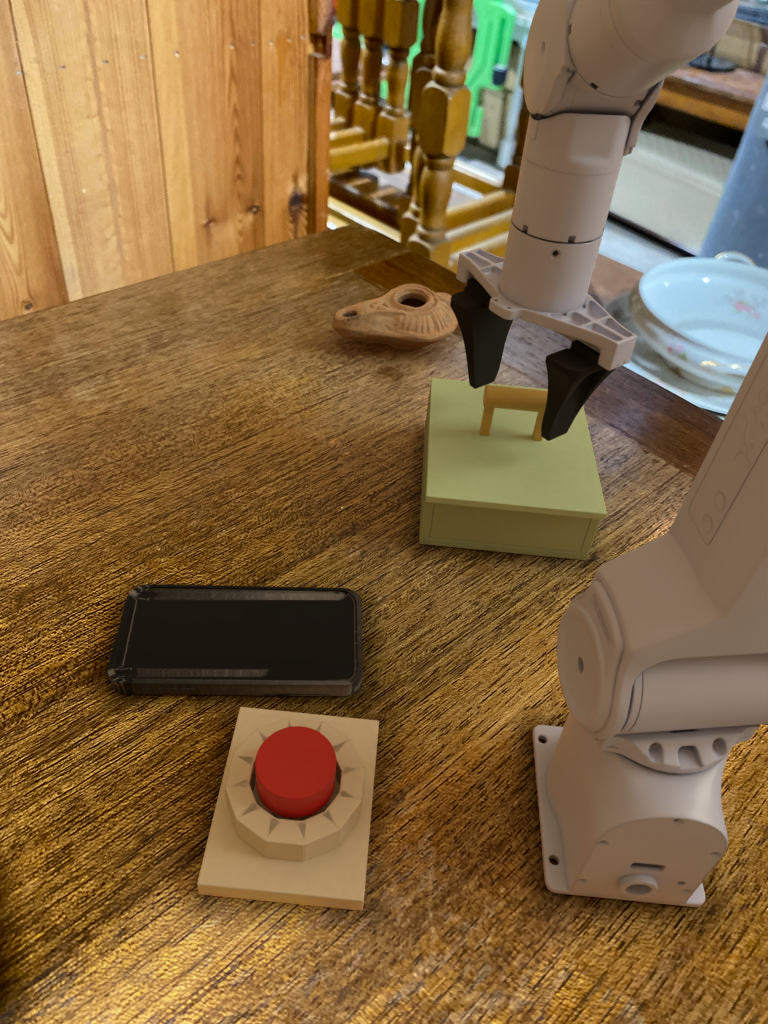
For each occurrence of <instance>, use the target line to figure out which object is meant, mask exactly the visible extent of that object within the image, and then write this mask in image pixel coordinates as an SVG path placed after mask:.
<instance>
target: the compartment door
mask: <svg viewBox="0 0 768 1024" xmlns="http://www.w3.org/2000/svg"><path fill="white" fill-rule="evenodd" d="M430 385H431V386H430ZM430 385H429V392H430V408H429V430H428V452H427V475H426V497H425V502H429V503H439V504H449V505H459V506H469V507H479V508H489V509H500V510H510V511H520V512H530V513H540V514H550V515H561V516H571V517H581V518H591V519H601V520H603V521H605V520H606V519H607V516H608V511H607V508H606V503H605V498H604V493H603V489H602V484H601V479H600V476H599V470H598V466H597V461H596V456H595V452H594V448H593V447H594V446H593V444H592V443H593V442H592V439H591V433H590V430H589V424H588V421H587V415H586V411H585V407H584V405H583V406H582V408H581V409H580V411H579V412H578V414H577V416H576V417H575V419H574V421H573V422H572V424H571V426H570V428H569V430H568V432H567V433H566V434H563V435H561V436H559V437H557V438H555V439H552V440H550V441H547V440H546V439H544V438H543V437H542V436H541V425H542V420H543V416H544V412H545V407H546V403H547V394H548V388H540V387H532V386H531V387H530V386H522V385H511V384H501V383H490V384H487V385H484V386H482V387H479V388H476V389H474V388H473V387H471V386H470V384H469V380H459V379H449V378H439V377H431V378H430ZM601 520H600V521H601Z"/></svg>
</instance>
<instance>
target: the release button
mask: <svg viewBox="0 0 768 1024" xmlns="http://www.w3.org/2000/svg"><path fill="white" fill-rule="evenodd" d="M255 773H256V786H257V792H258V795H259V797H260V799H261V801H262V802H263V804H264V805H265V806H266V807H267V808H268V809H269V810H271V811H272V812H274V813H276V814H278V815H280V816H283V817H288V818H301V817H305V816H308V815H311V814H313V813H315V812H317V811H318V810H320V809H321V808H322V807H323V806H324V805H325V804H326V803H327V802H328V801H329V799H330V797H331V796H332V794H333V791H334V787H335V776H336V754H335V751H334V748H333V746H332V744H331V743H330V742H329V740H328V739H327V738H326V737H325V736H324V735H323V734H321V733H320V732H318V731H316V730H314V729H311V728H308V727H303V726H292V727H287V728H283V729H281V730H278V731H276V732H274V733H273V734H271V735H270V736H269V737H268V738H267V739H266V740H265V741H264V742H263V743H262V744H261V746H260V748H259V750H258V752H257V755H256V759H255Z"/></svg>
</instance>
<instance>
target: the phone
mask: <svg viewBox="0 0 768 1024" xmlns="http://www.w3.org/2000/svg"><path fill="white" fill-rule="evenodd" d="M362 617H363V615H362V599H361V595H359V593H358V592H357V591H355V590H353V589H351V588H347V587H317V586H316V587H315V586H314V587H312V586H310V587H309V586H308V587H307V586H264V585H260V586H259V585H258V586H257V585H208V584H165V583H164V584H163V583H161V584H159V583H158V584H157V583H147V584H141V585H138V586H135V587H134V588H132V589H131V590H130V591H129V593H127V596H126V600H125V604H124V606H123V610H122V614H121V618H120V621H119V624H118V628H117V632H116V636H115V638H114V643H113V647H112V650H111V653H110V657H109V661H108V664H107V675H108V679H109V682H110V685H111V688H112V689H113V690H114V691H115V692H117V693H119V694H123V695H154V696H155V695H157V696H158V695H159V696H160V695H166V696H167V695H168V696H170V695H171V696H173V695H174V696H175V695H176V696H265V697H266V696H267V697H268V696H273V697H275V696H276V697H278V696H279V697H280V696H281V697H282V696H283V697H288V696H289V697H346V696H347V697H348V696H351V695H353V694H355V693H356V692H357V691H359V689H360V688H361V687H362V681H363V671H364V666H363V663H364V661H363V621H362V620H363V619H362Z"/></svg>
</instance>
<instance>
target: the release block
mask: <svg viewBox="0 0 768 1024" xmlns="http://www.w3.org/2000/svg"><path fill="white" fill-rule="evenodd" d="M292 726H303V727H308V728H311V729H314V730H316V731H318V732H320V733H321V734H323V735H324V736H325V737H326V738H327V739H328V740H329V742H330V743H331V744H332V746H333V748H334V751H335V754H336V776H335V787H334V791H333V794H332V796H331V797H330V799H329V801H328V802H327V803H326V804H325V805H324V806H323V807H322V808H321V809H320V810H318V811H317V812H315V813H313V814H311V815H308V816H305V817H301V818H288V817H283V816H280V815H278V814H276V813H274V812H272V811H271V810H269V809H268V808H267V807H266V806H265V805H264V804H263V802H262V801H261V799H260V797H259V795H258V792H257V786H256V773H255V759H256V755H257V752H258V750H259V748H260V746H261V744H262V743H263V742H264V741H265V740H266V739H267V738H268V737H269V736H270V735H271V734H273V733H274V732H276V731H278V730H281V729H283V728H287V727H292ZM379 728H380V720H376V719H367V718H356V717H347V716H337V715H328V714H327V715H325V714H316V713H307V712H298V711H297V712H295V711H288V710H276V709H268V708H258V707H247V706H240V707H239V709H238V713H237V718H236V722H235V726H234V730H233V734H232V738H231V742H230V746H229V750H228V754H227V757H226V758H227V760H226V763H225V766H224V771H223V775H222V778H221V783H220V787H219V791H218V795H217V800H216V804H215V808H214V812H213V817H212V820H211V825H210V827H209V833H208V837H207V841H206V845H205V849H204V853H203V857H202V860H201V861H202V862H201V865H200V869H199V873H198V877H197V882H196V884H197V890H198V894H199V895H204V896H213V897H223V898H233V899H243V900H251V901H263V902H272V903H283V904H292V905H301V906H311V907H320V908H332V909H341V910H352V911H360V912H361V911H363V909H364V905H365V904H364V903H365V894H366V893H365V892H366V881H367V868H368V858H369V846H370V834H371V823H372V810H373V799H374V787H375V775H376V762H377V752H378V751H377V750H378V740H379Z"/></svg>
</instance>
